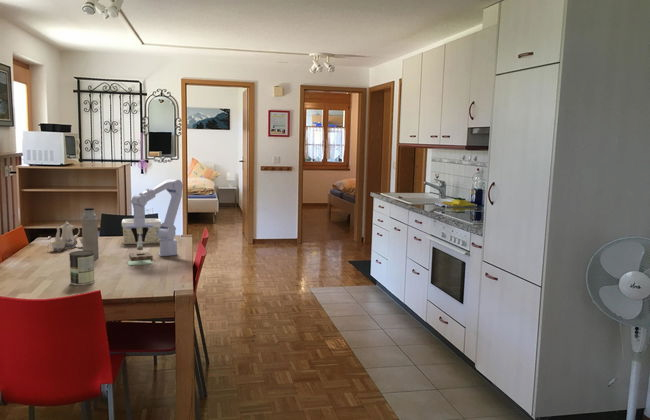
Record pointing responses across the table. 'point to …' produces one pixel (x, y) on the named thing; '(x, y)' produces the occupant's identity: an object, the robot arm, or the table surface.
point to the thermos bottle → (90, 232)
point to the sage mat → (139, 262)
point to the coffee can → (82, 267)
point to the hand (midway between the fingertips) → (139, 241)
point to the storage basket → (150, 236)
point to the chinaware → (65, 238)
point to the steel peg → (139, 241)
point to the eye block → (140, 256)
